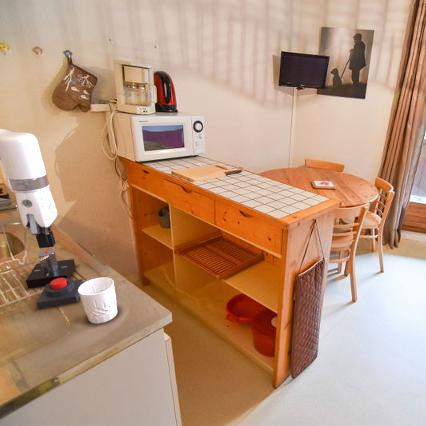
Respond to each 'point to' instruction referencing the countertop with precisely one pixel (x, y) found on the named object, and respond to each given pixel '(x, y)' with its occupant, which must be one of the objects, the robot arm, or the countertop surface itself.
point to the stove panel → (50, 274)
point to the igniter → (60, 294)
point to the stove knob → (48, 261)
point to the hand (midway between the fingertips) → (47, 245)
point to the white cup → (98, 299)
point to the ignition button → (58, 283)
